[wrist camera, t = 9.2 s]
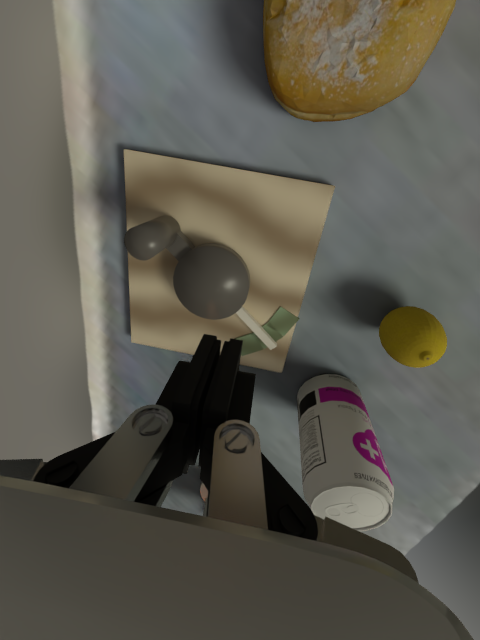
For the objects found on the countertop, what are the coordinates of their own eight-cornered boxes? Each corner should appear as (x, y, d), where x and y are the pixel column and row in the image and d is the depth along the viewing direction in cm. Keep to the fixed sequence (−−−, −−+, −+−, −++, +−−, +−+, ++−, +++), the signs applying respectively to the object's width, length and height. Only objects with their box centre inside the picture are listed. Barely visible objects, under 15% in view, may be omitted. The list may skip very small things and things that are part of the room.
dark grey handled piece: (301, 326, 33) (305, 359, 27) (248, 360, 36) (242, 396, 30) (183, 190, 27) (158, 195, 22) (134, 244, 31) (100, 261, 25)
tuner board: (283, 367, 38) (283, 373, 36) (135, 337, 38) (130, 342, 37) (335, 186, 27) (337, 186, 26) (129, 149, 28) (122, 148, 27)
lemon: (361, 314, 33) (382, 354, 26) (407, 285, 31) (444, 320, 24) (386, 346, 34) (414, 392, 27) (432, 320, 32) (475, 363, 25)
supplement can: (343, 361, 36) (379, 472, 23) (368, 405, 39) (412, 526, 26) (286, 383, 39) (288, 493, 26) (313, 423, 42) (327, 540, 29)
